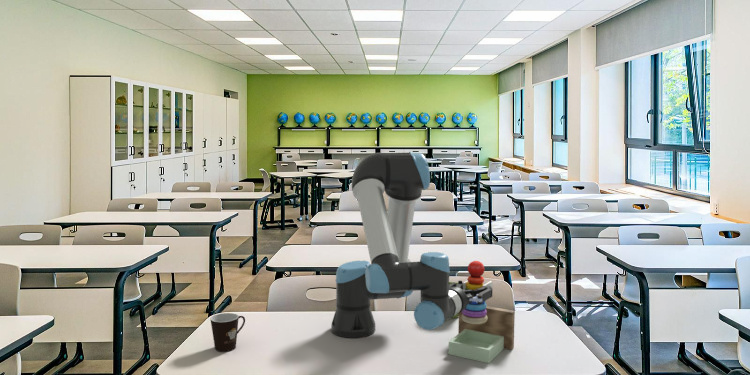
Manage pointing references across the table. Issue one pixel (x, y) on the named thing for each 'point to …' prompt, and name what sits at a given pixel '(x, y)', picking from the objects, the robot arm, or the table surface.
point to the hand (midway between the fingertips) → (481, 283)
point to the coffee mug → (225, 331)
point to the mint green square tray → (476, 345)
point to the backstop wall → (494, 325)
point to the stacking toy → (474, 310)
